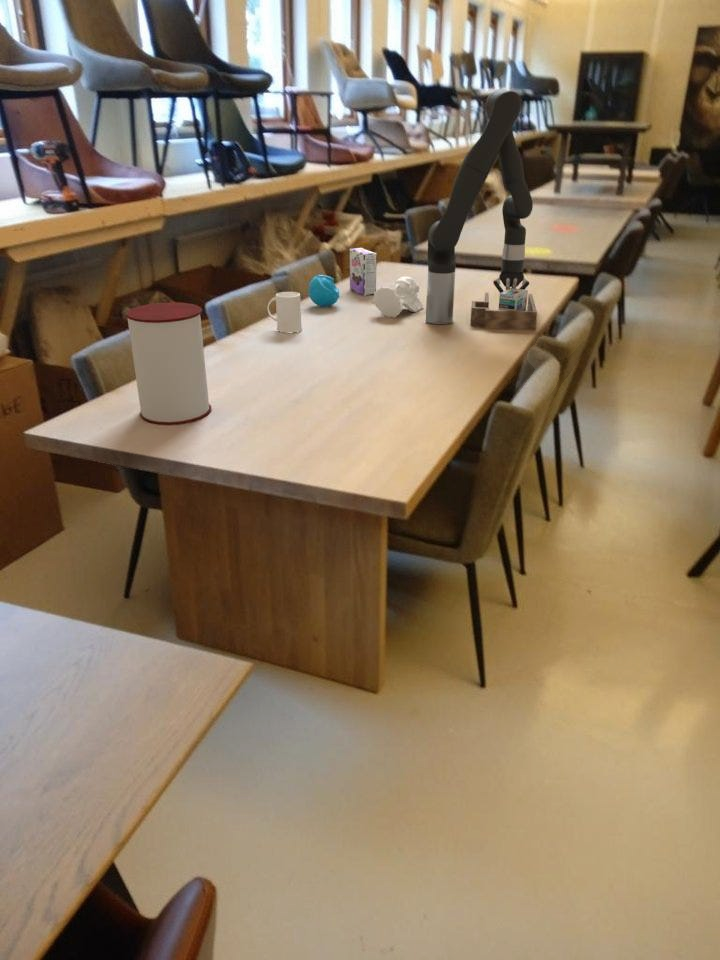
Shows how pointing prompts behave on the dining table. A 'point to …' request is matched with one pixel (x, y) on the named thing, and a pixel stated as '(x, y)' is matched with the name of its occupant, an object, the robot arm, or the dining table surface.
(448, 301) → the robot arm
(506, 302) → the light bulb box
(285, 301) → the mug
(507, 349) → the dining table surface
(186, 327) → the container
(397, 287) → the cherub figurine
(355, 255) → the candy box
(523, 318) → the wooden tray
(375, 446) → the dining table surface
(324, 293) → the sphere
